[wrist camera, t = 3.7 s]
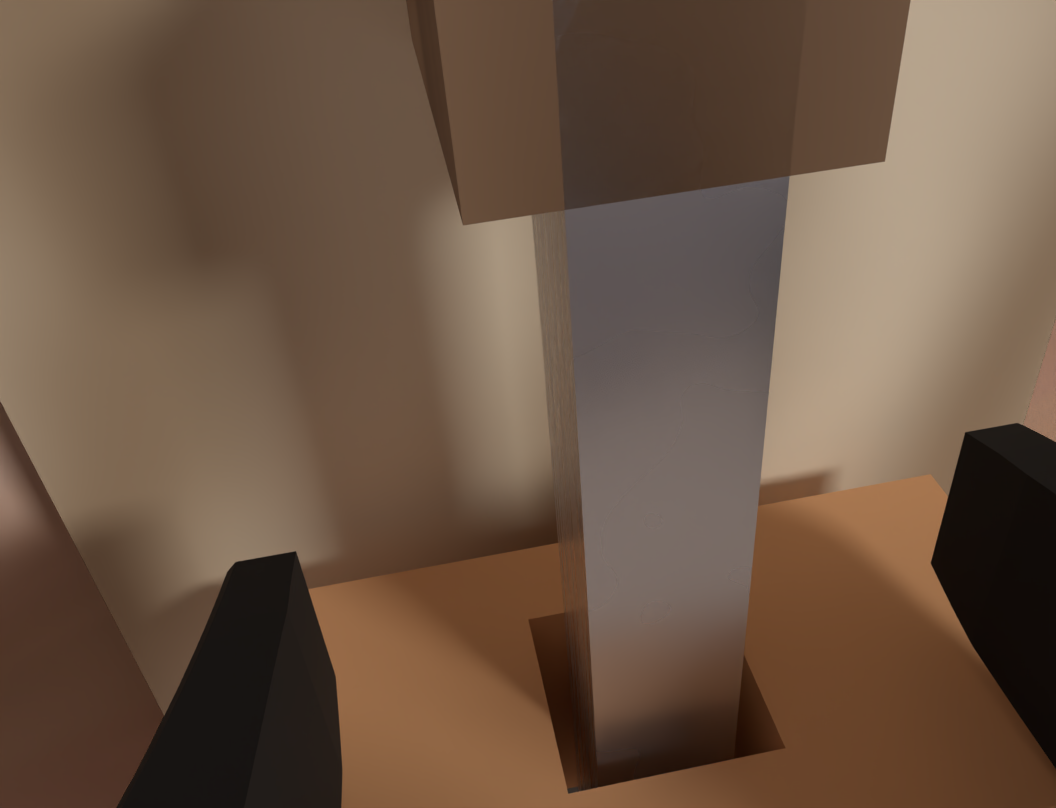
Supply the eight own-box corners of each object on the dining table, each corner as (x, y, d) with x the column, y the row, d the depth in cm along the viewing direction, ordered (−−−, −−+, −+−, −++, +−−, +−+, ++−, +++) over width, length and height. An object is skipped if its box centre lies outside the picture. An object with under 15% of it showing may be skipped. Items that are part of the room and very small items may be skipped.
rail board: (1180, -331, 10) (1809, -347, 6) (864, 844, 25) (977, 1082, 20) (-242, -183, 9) (-760, -63, 4) (317, 966, 23) (318, 1246, 19)
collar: (930, 474, 14) (1170, 780, 10) (887, 653, 16) (1066, 953, 12) (244, 601, 13) (213, 992, 9) (309, 770, 15) (307, 1133, 11)
